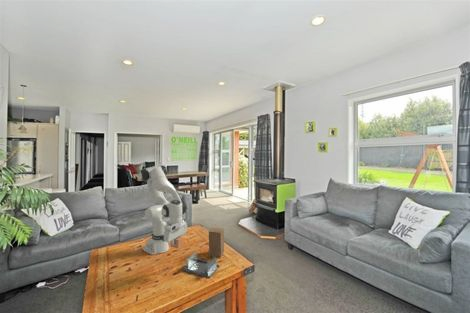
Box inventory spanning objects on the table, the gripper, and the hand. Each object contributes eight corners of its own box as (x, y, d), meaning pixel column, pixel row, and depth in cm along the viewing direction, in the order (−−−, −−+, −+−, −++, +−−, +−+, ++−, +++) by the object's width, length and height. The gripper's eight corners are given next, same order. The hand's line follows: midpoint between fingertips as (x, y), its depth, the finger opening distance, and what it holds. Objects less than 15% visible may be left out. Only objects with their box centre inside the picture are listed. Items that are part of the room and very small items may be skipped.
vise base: (182, 270, 144) (182, 260, 143) (194, 260, 156) (193, 251, 156) (209, 278, 135) (209, 266, 135) (219, 267, 148) (219, 256, 148)
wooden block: (220, 257, 161) (220, 232, 160) (208, 256, 163) (208, 231, 162) (224, 251, 171) (223, 227, 170) (212, 250, 173) (212, 227, 172)
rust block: (178, 248, 141) (178, 240, 141) (170, 246, 144) (170, 238, 144) (182, 246, 145) (182, 237, 144) (174, 244, 148) (174, 236, 147)
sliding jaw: (186, 268, 144) (186, 259, 144) (195, 260, 154) (195, 252, 154) (188, 268, 143) (188, 260, 143) (197, 260, 153) (197, 253, 153)
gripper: (182, 218, 155) (182, 236, 155) (161, 227, 136) (162, 248, 137) (189, 220, 152) (189, 238, 152) (169, 229, 133) (169, 250, 134)
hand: (176, 243), depth 144 cm, fingers closed on rust block, 4 cm apart
